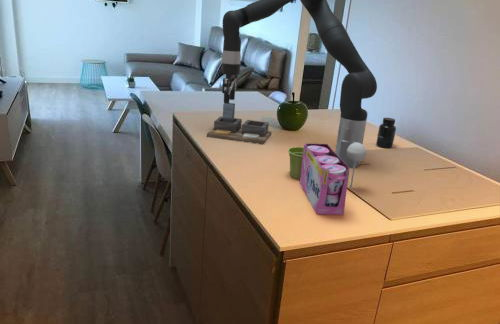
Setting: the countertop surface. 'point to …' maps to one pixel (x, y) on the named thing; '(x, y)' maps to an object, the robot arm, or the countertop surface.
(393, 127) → the supplement bottle
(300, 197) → the countertop surface
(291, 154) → the plant pot
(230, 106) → the plug
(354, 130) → the robot arm
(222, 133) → the socket board
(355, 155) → the lollipop
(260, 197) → the countertop surface
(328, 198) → the gum box
